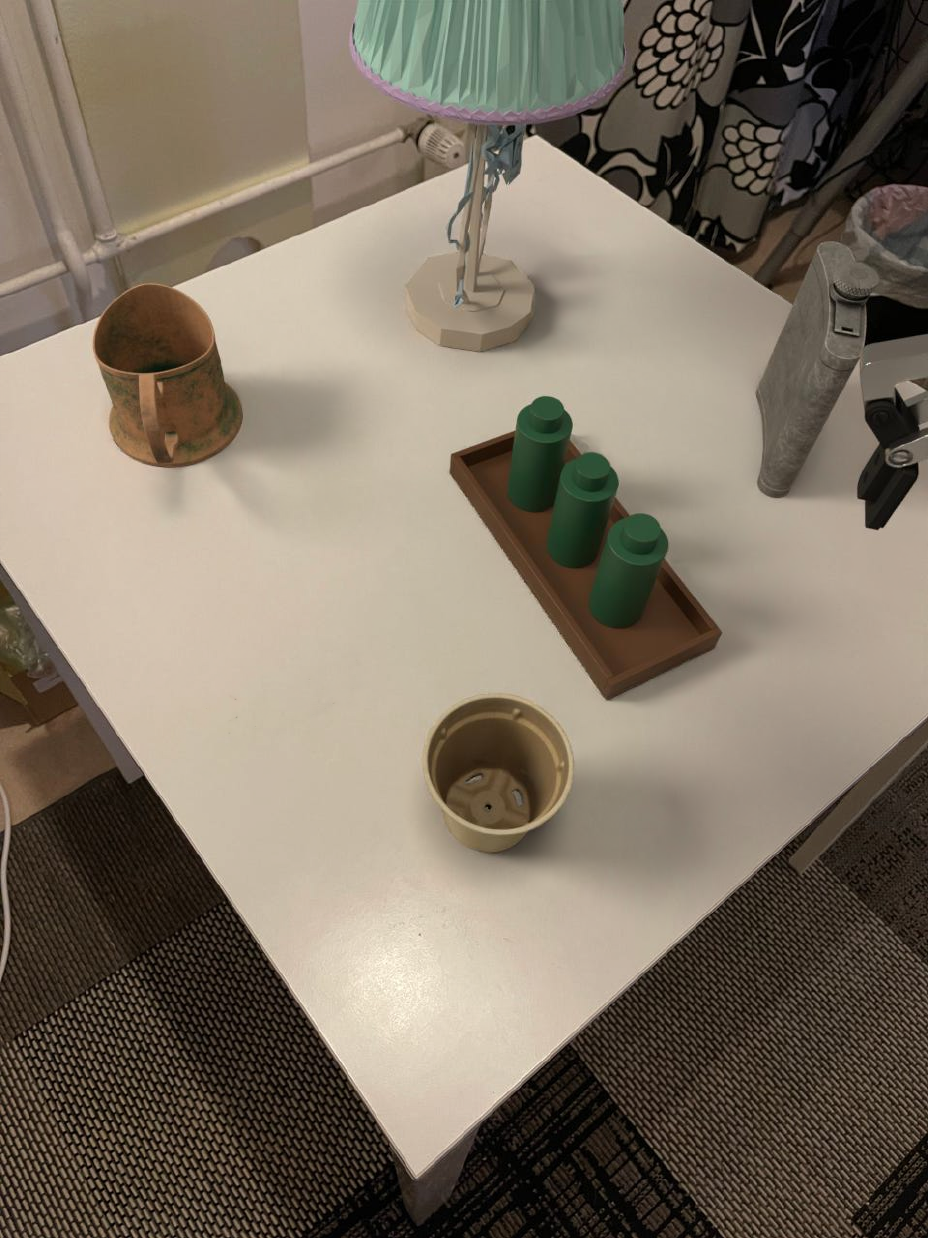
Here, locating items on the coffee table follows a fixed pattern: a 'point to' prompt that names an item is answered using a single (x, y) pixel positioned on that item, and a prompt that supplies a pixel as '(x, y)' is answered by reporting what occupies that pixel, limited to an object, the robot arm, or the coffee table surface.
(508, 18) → the table lamp
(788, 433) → the flask
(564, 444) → the bottle far
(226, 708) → the coffee table surface
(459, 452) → the tray
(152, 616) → the coffee table surface
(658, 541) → the bottle
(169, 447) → the mug
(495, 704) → the flower pot
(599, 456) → the bottle mid
